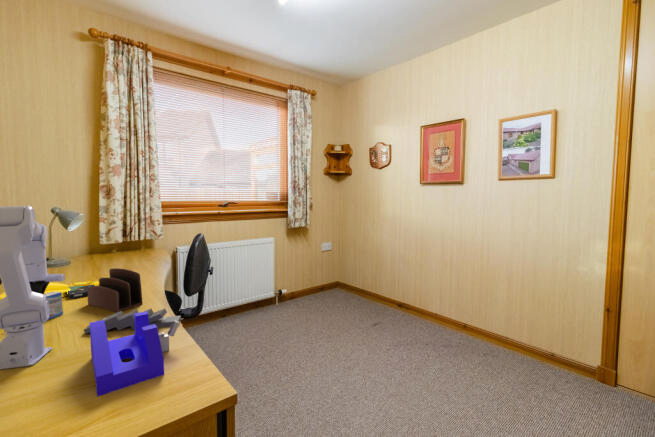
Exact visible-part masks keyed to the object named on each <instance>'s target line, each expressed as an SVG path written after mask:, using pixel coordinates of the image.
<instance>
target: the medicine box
mask: <svg viewBox="0 0 655 437" xmlns="http://www.w3.org/2000/svg"><path fill="white" fill-rule="evenodd" d="M44 295H45V297H46V299H47V301H48V302H49V308H50V313H49V319H48V320H47V321H49V320H52V319H54V318H57V317H60V316H63V315H64V311H63V309H64V308H63V307H64V306H63V293H62V292H61V291H51V292H47V293H44Z"/></svg>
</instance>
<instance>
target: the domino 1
mask: <svg viewBox="0 0 655 437" xmlns="http://www.w3.org/2000/svg"><path fill="white" fill-rule="evenodd" d="M123 315H124V313H123V311H120V312H115V313H113V314H111V315H108V316H106V317H104V318H102V319H99V320H97V321H101V320H104V323H105V326H106V325H109V324H111V323H113V322H116V321H118V320H119V319H120V318H121V317H122V316H123ZM83 332H84V334H85V335H87V334H90V324H89V325H87V326H86V327H85V328H84V329H83Z"/></svg>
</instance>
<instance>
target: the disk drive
mask: <svg viewBox="0 0 655 437" xmlns="http://www.w3.org/2000/svg"><path fill="white" fill-rule="evenodd" d="M89 286H96V285H95V284H94V283H93V285H87V286H79V285H74V286H68V287H69V288H70V289H71V290H70V291H68V295H67V297H68V299H69V300H76V299H81V298H85V297H87V298H88V287H89Z"/></svg>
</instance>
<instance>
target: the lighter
mask: <svg viewBox="0 0 655 437" xmlns="http://www.w3.org/2000/svg"><path fill="white" fill-rule="evenodd" d="M179 325H180V323H179V321H175V320H174V321H173V323H172V325H171V326H169V327H170V328H169V329H168V331H167V333H166V334H165V332H158V334H159V339H160V344H161V349H162V353H163V352H168V351H170V337H174V336H175V334H176V332H177V330H178V327H179Z"/></svg>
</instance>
